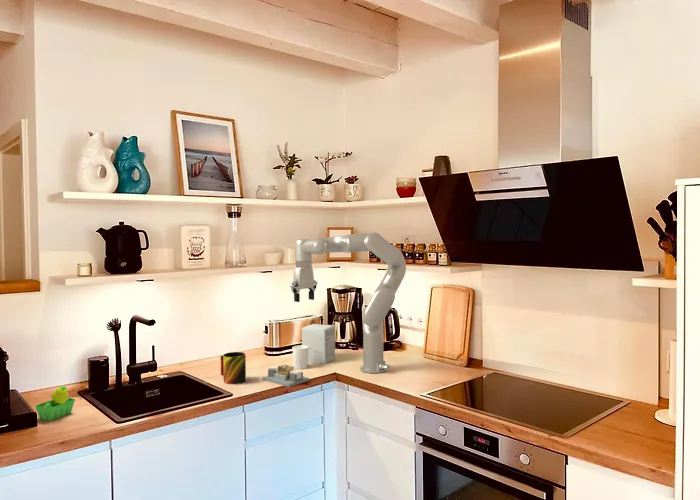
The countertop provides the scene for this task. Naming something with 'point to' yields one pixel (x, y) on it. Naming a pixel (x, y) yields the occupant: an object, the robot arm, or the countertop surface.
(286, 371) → the coupler
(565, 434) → the countertop surface
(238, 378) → the mug
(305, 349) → the white cup
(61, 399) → the fruit basket
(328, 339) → the supplement box
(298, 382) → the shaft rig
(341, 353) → the countertop surface
